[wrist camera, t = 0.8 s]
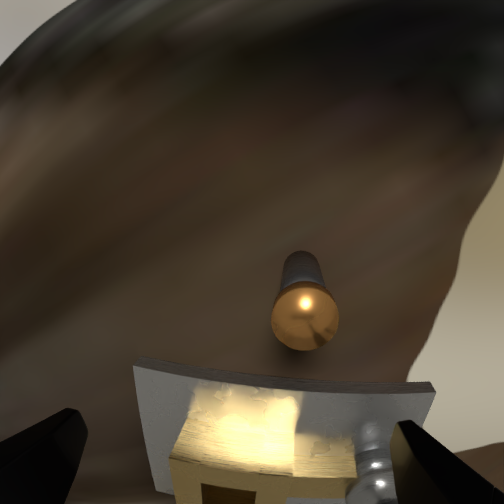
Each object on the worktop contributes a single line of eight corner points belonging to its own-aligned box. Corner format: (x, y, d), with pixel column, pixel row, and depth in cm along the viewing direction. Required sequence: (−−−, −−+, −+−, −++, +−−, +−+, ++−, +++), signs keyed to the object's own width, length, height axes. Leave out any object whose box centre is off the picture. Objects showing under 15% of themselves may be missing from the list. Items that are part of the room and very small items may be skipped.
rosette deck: (429, 381, 20) (458, 430, 15) (373, 501, 24) (380, 545, 18) (141, 355, 23) (103, 399, 17) (160, 480, 26) (141, 521, 20)
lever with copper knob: (324, 249, 20) (343, 291, 12) (319, 290, 20) (333, 352, 12) (282, 245, 20) (274, 285, 12) (278, 286, 20) (268, 347, 13)
